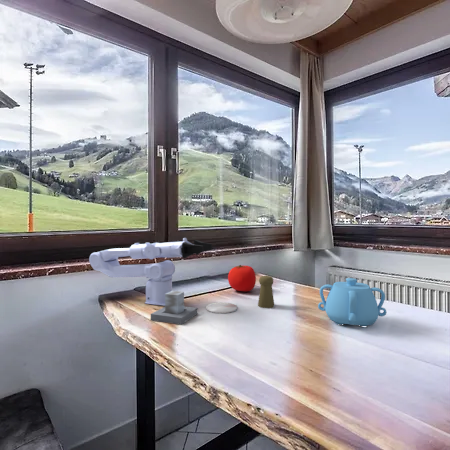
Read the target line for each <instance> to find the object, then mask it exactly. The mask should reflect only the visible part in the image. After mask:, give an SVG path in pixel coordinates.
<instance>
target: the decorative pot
mask: <svg viewBox="0 0 450 450" xmlns="http://www.w3.org/2000/svg"><path fill="white" fill-rule="evenodd" d="M357 281H358V279H357V278H353V277H347V278H345V281H335V282H334V283H333V284H328V283H327V284H324V285H322V286H320V288H319V296H320V299H321V302H319V303H318V304H317V307H318V310H320V311H322V312H325V313H326V315H327V316H328V318H329V320H331V321H332V322H335V324H336V323H337V324H336V325H338V324H340V325H339V326H343V325H342V324H345V325H351V326H358V325H360V326H372V325H374V323H376V321H377V320H378V319H379V317H385V316H386V315H387V309H386V308H385V307H383V305H384V303H385V299H386V293H385V292H384V290H382V289H381V288H379V287H371V286H370V285H368V284H367V283H364V282H357ZM324 289H329V291H328V294H327V297H326V298H325V295H324ZM374 292H378V293H380V294H381V296H380V297H381V298H380V300H379V303H378V302H377V299H376V297H375V294H374ZM322 305H323V307H322ZM381 311H383V312H381Z"/></svg>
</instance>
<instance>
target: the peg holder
mask: <svg viewBox="0 0 450 450" xmlns="http://www.w3.org/2000/svg"><path fill="white" fill-rule="evenodd" d="M197 315H198V307H192V306H185V305H184V312H182V313H180V314H179V315H177V314H169V313H165V306H164V307H163V306H162V308H160V309H158V310H156V311H153V312H152V313H150V321H155V322H163V323H170V324H175V325H183V324H184V323H186V322H187V321H189V320H190V319H192V318H193V317H194V316H197Z"/></svg>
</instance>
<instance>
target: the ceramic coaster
mask: <svg viewBox="0 0 450 450" xmlns="http://www.w3.org/2000/svg"><path fill="white" fill-rule="evenodd" d="M205 310H207V312H209V313H212V314H229V313H233V312H236V311H237V310H238V306H237V305H236V304H235V303H230V302H214V303H209V304H207V305H206V307H205Z"/></svg>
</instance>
